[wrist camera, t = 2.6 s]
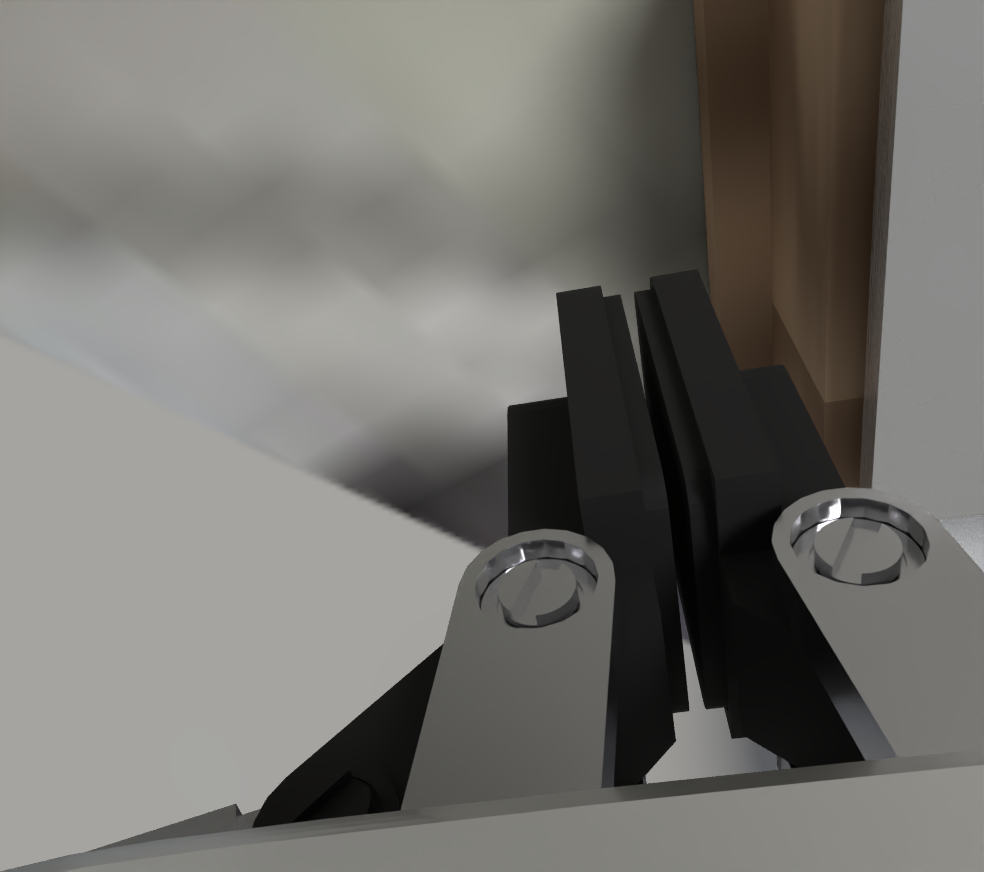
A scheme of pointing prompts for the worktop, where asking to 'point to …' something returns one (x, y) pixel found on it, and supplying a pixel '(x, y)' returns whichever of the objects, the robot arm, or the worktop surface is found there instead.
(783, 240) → the holder
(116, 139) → the worktop surface
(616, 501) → the robot arm
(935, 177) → the lid
